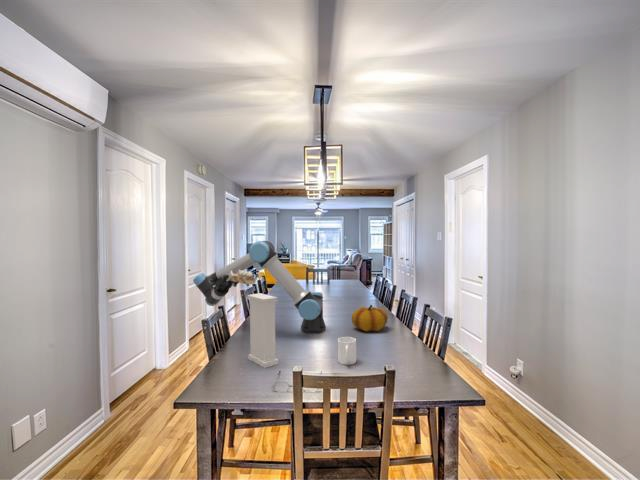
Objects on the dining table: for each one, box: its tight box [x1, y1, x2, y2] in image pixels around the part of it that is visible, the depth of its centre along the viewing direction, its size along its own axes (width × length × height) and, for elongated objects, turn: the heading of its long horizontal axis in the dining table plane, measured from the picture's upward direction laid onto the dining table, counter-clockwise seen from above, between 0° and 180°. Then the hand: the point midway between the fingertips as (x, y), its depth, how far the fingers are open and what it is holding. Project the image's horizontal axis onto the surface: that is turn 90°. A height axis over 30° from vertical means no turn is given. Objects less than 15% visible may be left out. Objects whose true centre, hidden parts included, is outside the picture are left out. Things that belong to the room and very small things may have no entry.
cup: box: [337, 336, 357, 366], centre depth 157 cm, size 8×12×10 cm
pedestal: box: [246, 292, 279, 369], centre depth 160 cm, size 15×7×30 cm, turn 39°
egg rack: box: [226, 270, 256, 285], centre depth 177 cm, size 24×4×6 cm, turn 39°
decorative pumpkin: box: [351, 304, 388, 333], centre depth 211 cm, size 20×22×15 cm
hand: (236, 272), depth 180 cm, fingers closed on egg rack, 4 cm apart
